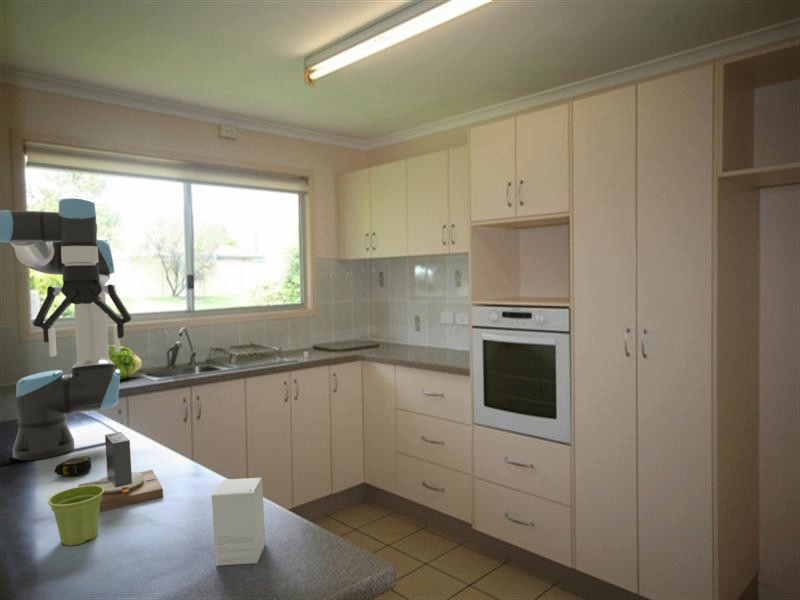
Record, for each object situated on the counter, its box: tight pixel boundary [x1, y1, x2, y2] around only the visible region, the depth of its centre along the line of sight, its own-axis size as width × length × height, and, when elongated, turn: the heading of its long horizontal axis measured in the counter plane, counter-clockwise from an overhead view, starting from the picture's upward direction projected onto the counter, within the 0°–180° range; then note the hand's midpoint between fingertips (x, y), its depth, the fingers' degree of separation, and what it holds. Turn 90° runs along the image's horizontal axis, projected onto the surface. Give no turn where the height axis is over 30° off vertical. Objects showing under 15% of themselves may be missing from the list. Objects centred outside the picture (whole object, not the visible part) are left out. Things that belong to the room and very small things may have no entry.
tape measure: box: [53, 456, 92, 477], centre depth 141 cm, size 7×7×4 cm
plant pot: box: [47, 485, 104, 546], centre depth 105 cm, size 9×9×9 cm
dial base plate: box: [77, 469, 164, 512], centre depth 126 cm, size 15×16×2 cm
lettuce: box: [108, 344, 143, 381], centre depth 274 cm, size 19×23×18 cm
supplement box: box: [211, 477, 266, 567], centre depth 97 cm, size 7×7×13 cm
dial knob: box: [95, 431, 144, 494], centre depth 125 cm, size 10×12×11 cm
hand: (86, 353), depth 130 cm, fingers open, 13 cm apart
